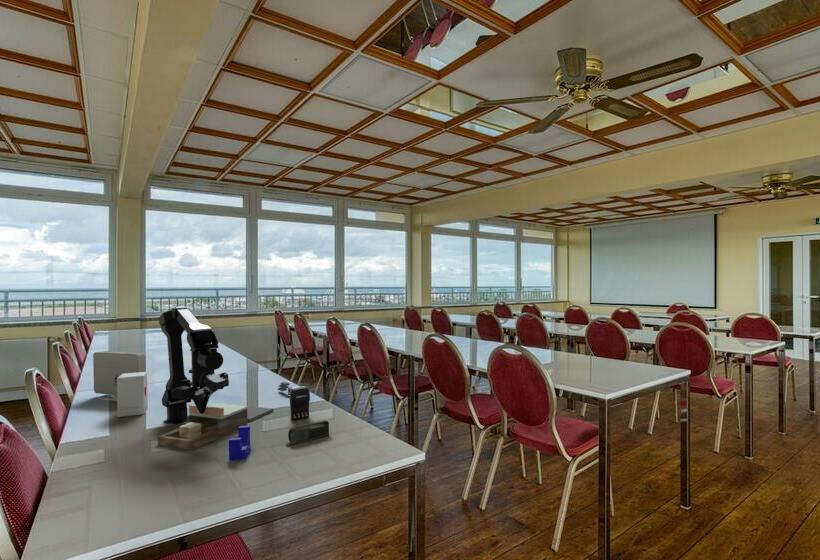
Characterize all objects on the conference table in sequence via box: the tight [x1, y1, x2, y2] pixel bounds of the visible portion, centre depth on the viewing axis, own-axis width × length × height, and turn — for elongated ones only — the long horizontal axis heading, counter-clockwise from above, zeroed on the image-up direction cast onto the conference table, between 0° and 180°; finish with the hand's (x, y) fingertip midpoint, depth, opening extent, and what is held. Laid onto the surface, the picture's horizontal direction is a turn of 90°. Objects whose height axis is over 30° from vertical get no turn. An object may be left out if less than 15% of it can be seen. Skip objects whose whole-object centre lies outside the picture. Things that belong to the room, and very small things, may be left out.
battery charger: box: [289, 386, 311, 421], centre depth 162 cm, size 7×4×11 cm, turn 118°
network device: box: [92, 350, 147, 402], centre depth 196 cm, size 26×9×20 cm, turn 73°
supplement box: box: [116, 371, 149, 418], centre depth 173 cm, size 9×9×15 cm
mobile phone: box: [285, 420, 330, 447], centre depth 141 cm, size 5×3×15 cm
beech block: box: [178, 422, 201, 440], centre depth 142 cm, size 4×4×5 cm
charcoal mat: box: [246, 405, 274, 422], centre depth 168 cm, size 13×13×1 cm
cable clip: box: [228, 425, 252, 461], centre depth 132 cm, size 12×4×6 cm, turn 7°
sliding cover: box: [188, 402, 248, 419], centre depth 154 cm, size 14×12×3 cm
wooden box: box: [157, 409, 249, 451], centre depth 148 cm, size 14×24×6 cm, turn 159°
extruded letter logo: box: [277, 381, 293, 396], centre depth 193 cm, size 25×2×6 cm, turn 42°
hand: (202, 413), depth 147 cm, fingers closed
